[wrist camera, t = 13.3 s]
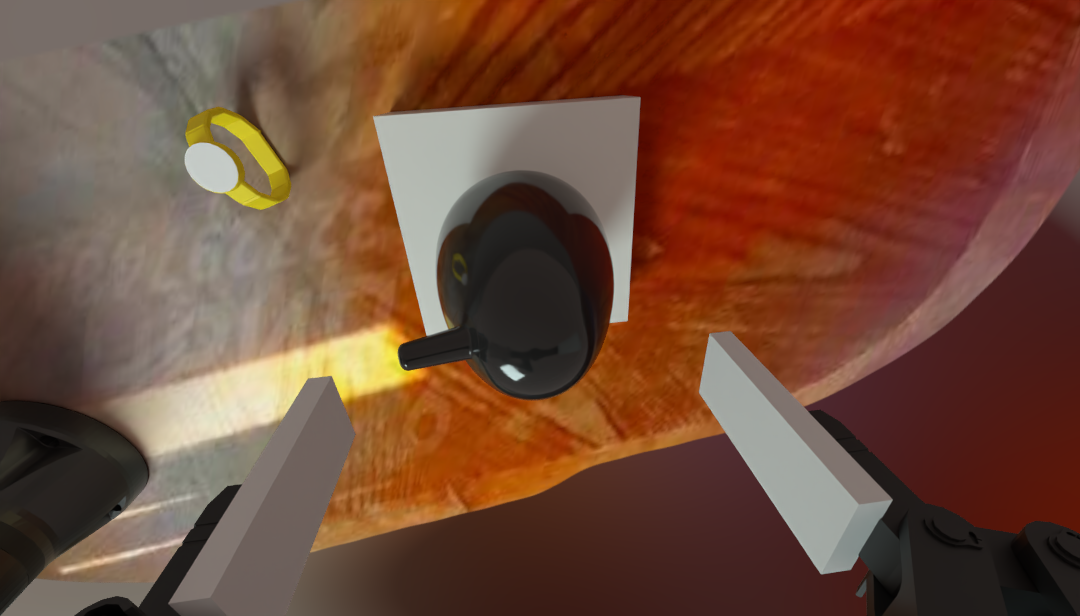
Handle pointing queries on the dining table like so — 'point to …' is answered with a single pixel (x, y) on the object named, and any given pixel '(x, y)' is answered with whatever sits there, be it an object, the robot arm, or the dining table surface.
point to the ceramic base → (507, 145)
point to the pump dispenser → (520, 286)
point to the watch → (232, 159)
